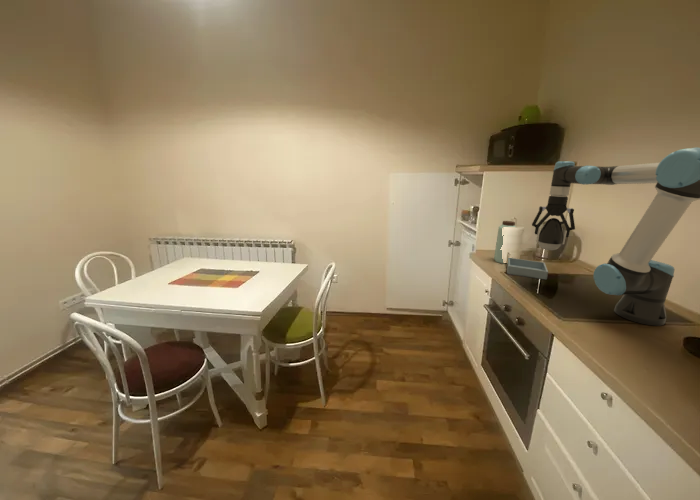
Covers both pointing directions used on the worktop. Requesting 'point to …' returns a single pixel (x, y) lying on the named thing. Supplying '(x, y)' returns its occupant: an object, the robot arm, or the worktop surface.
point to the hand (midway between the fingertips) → (549, 242)
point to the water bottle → (501, 240)
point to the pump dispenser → (551, 234)
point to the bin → (527, 268)
